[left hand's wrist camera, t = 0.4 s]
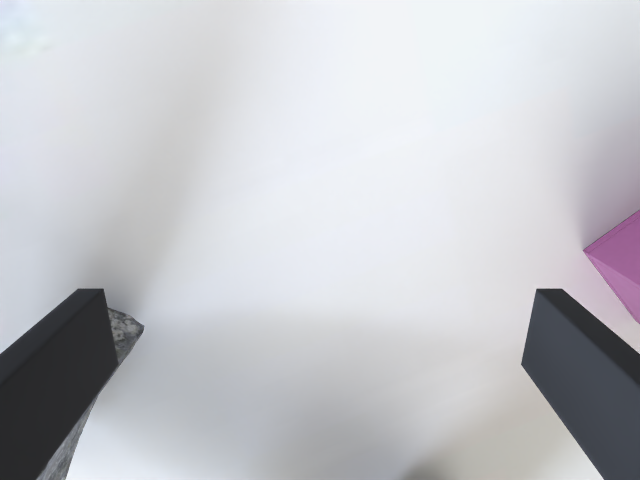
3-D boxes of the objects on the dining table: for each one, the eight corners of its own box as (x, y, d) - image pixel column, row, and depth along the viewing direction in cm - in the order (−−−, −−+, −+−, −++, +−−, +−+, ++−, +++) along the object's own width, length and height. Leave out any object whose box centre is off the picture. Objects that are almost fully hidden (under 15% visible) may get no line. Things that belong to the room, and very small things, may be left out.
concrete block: (88, 271, 42) (-97, 418, 24) (167, 311, 44) (54, 479, 25) (7, 441, 50) (-179, 653, 31) (77, 470, 52) (-61, 688, 33)
